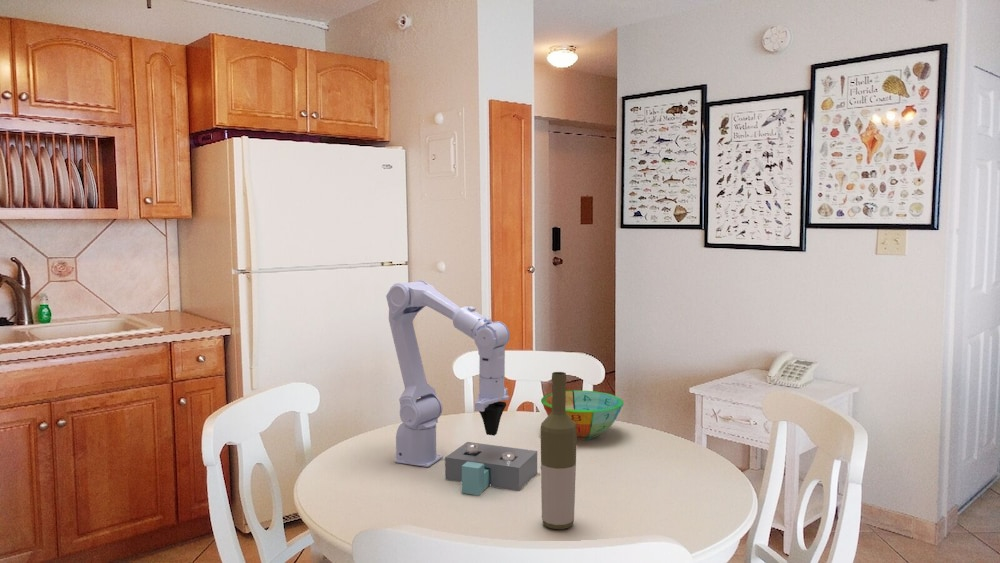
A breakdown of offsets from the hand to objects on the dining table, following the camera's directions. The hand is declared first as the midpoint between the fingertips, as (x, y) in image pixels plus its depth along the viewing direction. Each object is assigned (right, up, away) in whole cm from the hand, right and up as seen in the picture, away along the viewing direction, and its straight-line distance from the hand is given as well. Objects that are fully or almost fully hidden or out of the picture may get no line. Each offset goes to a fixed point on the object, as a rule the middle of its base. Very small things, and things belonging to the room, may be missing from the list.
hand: (491, 434), depth 163 cm
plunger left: (-4, -5, +2) cm, 7 cm away
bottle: (+13, -13, -24) cm, 30 cm away
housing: (0, -10, +2) cm, 10 cm away
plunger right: (+4, -7, -1) cm, 8 cm away
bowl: (+24, -8, +32) cm, 41 cm away
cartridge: (-2, -10, -2) cm, 11 cm away
